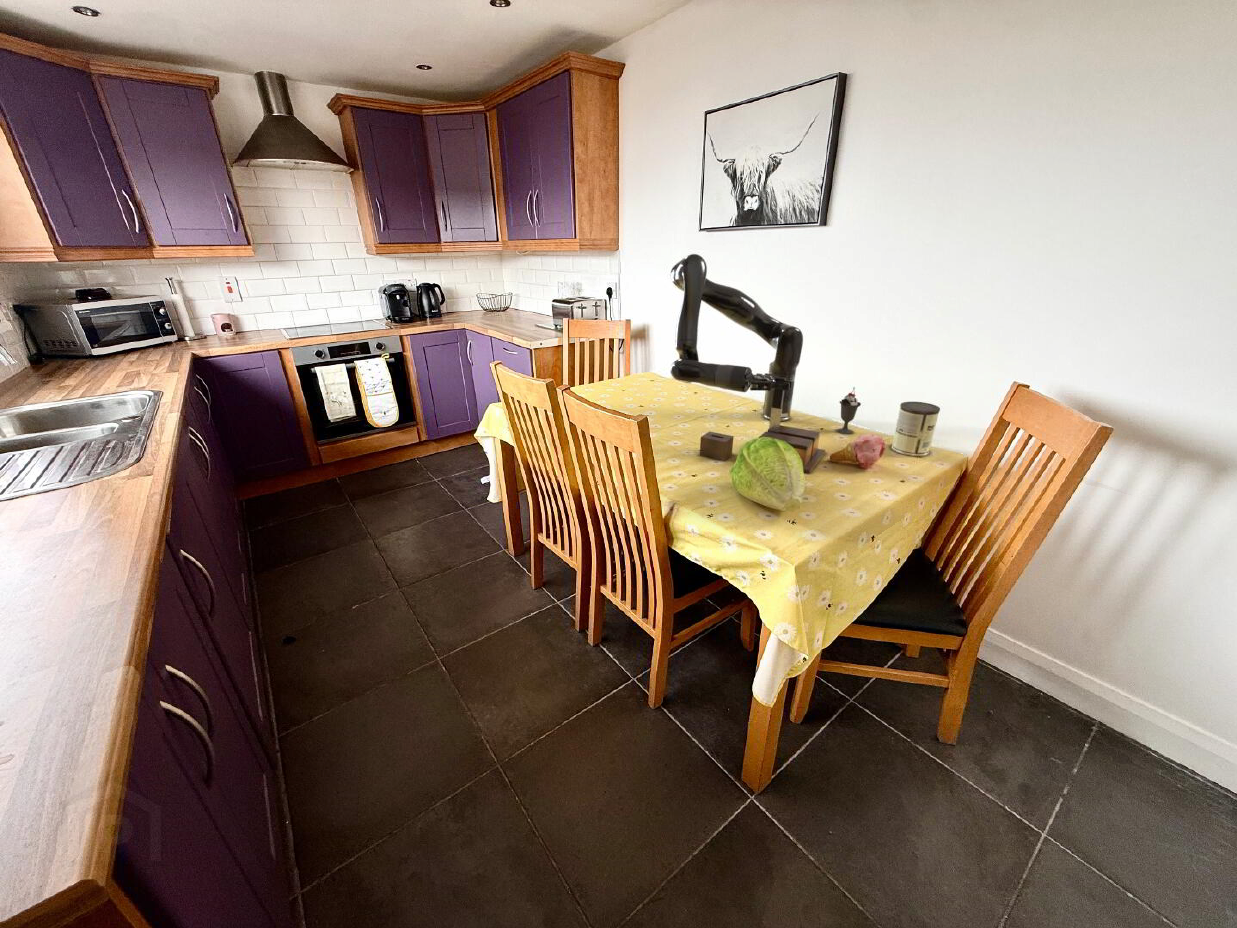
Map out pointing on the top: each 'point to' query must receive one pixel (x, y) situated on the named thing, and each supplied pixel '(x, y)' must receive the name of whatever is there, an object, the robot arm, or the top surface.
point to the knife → (776, 408)
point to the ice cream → (862, 451)
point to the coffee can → (915, 428)
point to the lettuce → (770, 474)
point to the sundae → (848, 411)
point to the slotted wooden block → (800, 444)
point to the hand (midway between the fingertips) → (790, 386)
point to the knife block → (716, 445)
